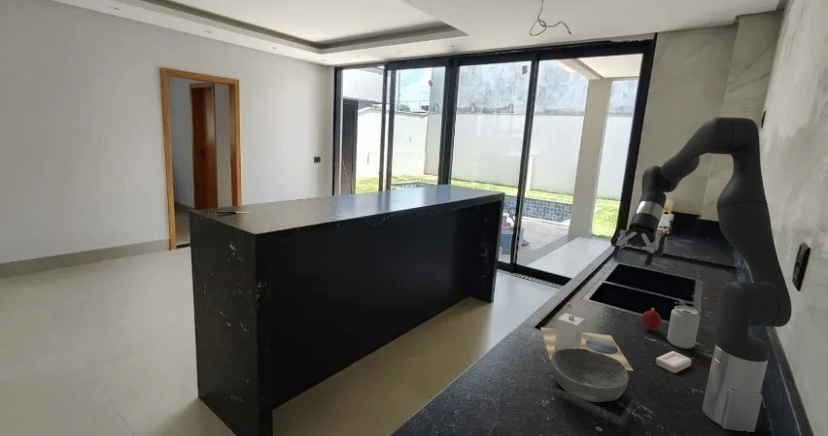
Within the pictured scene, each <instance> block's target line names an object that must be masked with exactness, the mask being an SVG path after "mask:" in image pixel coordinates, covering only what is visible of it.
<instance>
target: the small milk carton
mask: <svg viewBox="0 0 828 436" xmlns="http://www.w3.org/2000/svg"><path fill="white" fill-rule="evenodd" d="M584 322H585V318H582V317H578V316H575V315H573V314H569V313H567V312H564V313H563V314H562V315H561V316H559V317H558V318H557V323H556V329H557V331H556V339H555V348H554V350H556V351H558V350H562V349H569V348H570V349H577V348H579V349H580V347H581V339H582V332H583V331H584V324H585V323H584Z"/></svg>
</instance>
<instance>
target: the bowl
mask: <svg viewBox="0 0 828 436" xmlns="http://www.w3.org/2000/svg"><path fill="white" fill-rule="evenodd" d="M550 371H551V374H552V375H553V378H554V380H555V381H556V383H558V385H559V387H561V388H562V389H564V391H565V392H566V393H568V394H569V395H571V396H573V397H574V396H575V397H574V398H577V399H580V400H583V401H587V402H592V403H594V402H595V403H605V402H613V401H616V400H618V399H619V398H620V397H621V396H622V394H623V393H624V392H625V391H626V389H627V388H628V382H629V380H630V378H629V372H628V370H626V369H625V367H624V366H623V365H622V364H621V362H619V361H618V360H616V359H614V358H612V357H610V356H606V355H604V354H601V353H597V352H594V351H590V350H587V349H579V348H577V349H570V348H569V349H562V350H558V351H555V352H554V353H553V355H552V357H551V360H550Z"/></svg>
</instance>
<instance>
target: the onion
mask: <svg viewBox="0 0 828 436" xmlns="http://www.w3.org/2000/svg"><path fill="white" fill-rule="evenodd" d="M661 317H662V316H661V315H660V313H658V312H657V311H656V309H655V308H654V307H651V309H649V310H647V311H645V312H643V313H642V316H641V322H642V324H643V326H644V327H645V328H646V329H647V330H649V331H652V330H657V329H658V328H659V327H660V326H661V324H662V318H661Z"/></svg>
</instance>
